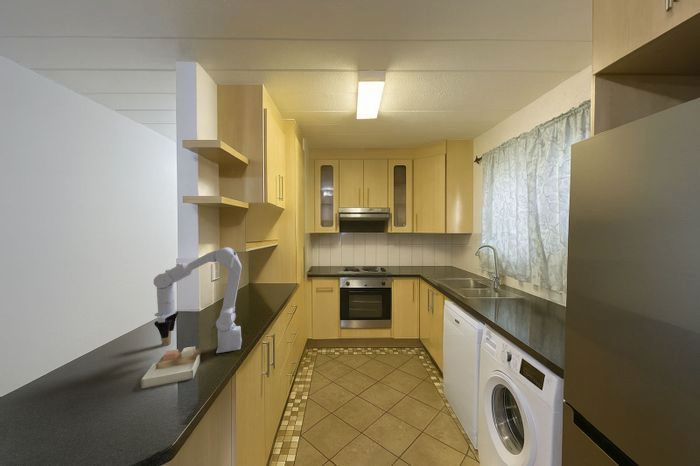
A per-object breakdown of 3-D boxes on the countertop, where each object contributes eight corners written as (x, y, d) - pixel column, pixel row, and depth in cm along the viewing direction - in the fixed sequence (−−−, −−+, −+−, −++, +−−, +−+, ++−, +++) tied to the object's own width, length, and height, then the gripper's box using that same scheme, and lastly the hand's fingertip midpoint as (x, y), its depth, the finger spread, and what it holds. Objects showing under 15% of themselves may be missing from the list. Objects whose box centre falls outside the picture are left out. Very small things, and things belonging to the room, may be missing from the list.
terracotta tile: (178, 353, 104) (178, 349, 104) (175, 358, 101) (175, 353, 101) (166, 355, 103) (166, 350, 103) (163, 360, 99) (163, 355, 99)
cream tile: (195, 351, 106) (195, 346, 106) (193, 355, 103) (193, 350, 103) (184, 353, 105) (184, 348, 105) (181, 357, 101) (181, 352, 101)
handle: (171, 346, 118) (169, 313, 117) (155, 347, 117) (154, 314, 116) (176, 341, 122) (175, 310, 122) (161, 342, 121) (160, 311, 121)
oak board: (200, 354, 108) (200, 348, 108) (197, 362, 102) (196, 356, 102) (163, 361, 104) (163, 355, 104) (157, 369, 97) (157, 363, 97)
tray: (200, 362, 102) (199, 354, 102) (193, 378, 91) (192, 370, 91) (154, 370, 97) (154, 362, 97) (141, 388, 86) (140, 380, 86)
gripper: (160, 298, 113) (162, 329, 113) (147, 308, 100) (149, 343, 100) (179, 296, 116) (180, 326, 116) (169, 305, 102) (171, 339, 102)
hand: (167, 334), depth 108 cm, fingers open, 7 cm apart
